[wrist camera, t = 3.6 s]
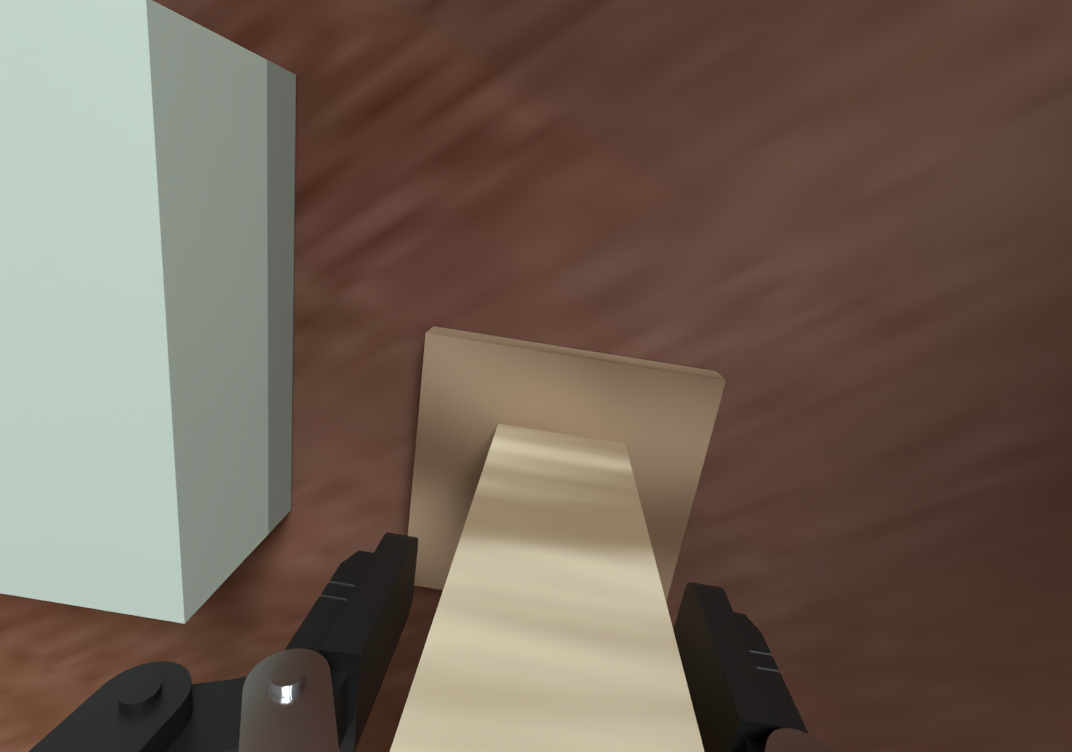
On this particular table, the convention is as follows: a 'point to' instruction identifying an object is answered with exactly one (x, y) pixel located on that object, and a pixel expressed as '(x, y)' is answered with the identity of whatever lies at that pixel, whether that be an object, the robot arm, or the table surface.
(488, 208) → the table surface
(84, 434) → the socket block
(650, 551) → the pin
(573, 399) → the coaster
